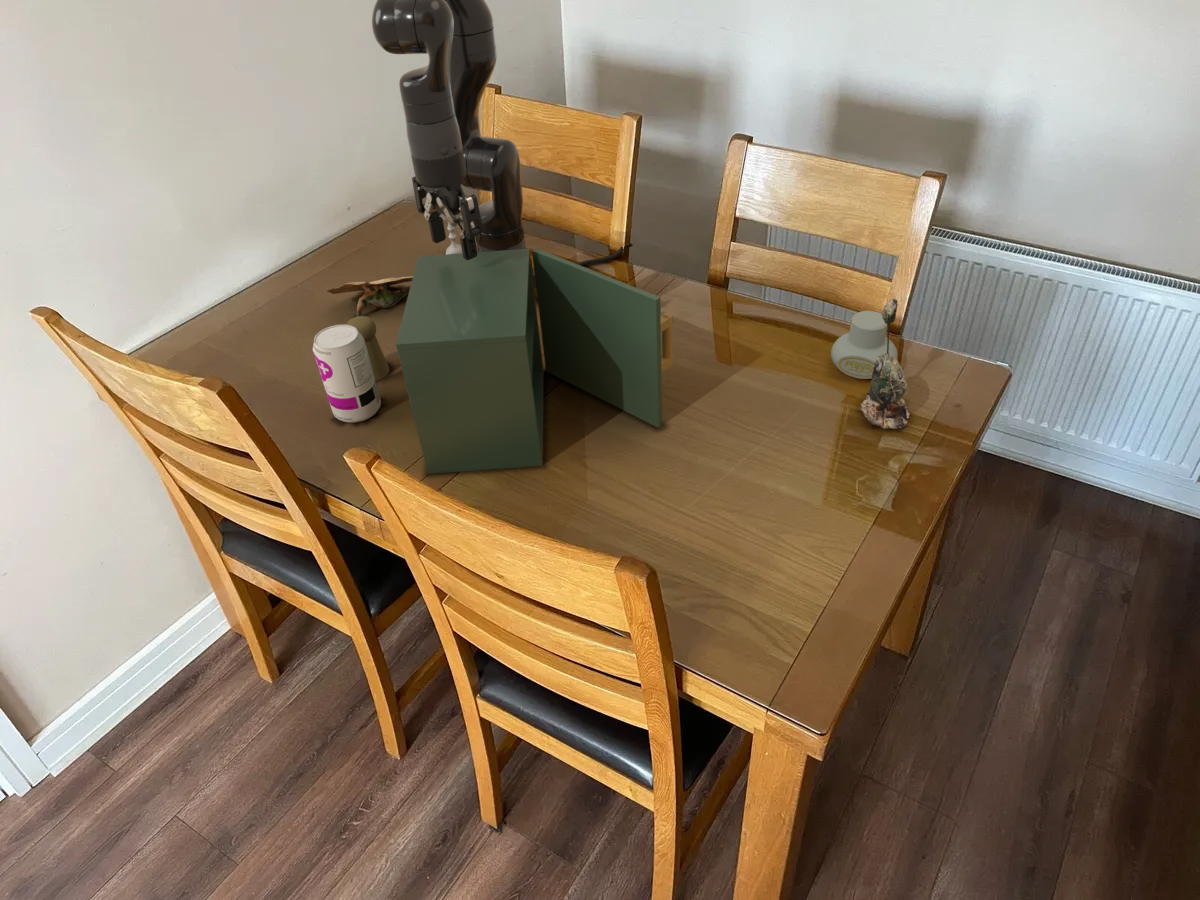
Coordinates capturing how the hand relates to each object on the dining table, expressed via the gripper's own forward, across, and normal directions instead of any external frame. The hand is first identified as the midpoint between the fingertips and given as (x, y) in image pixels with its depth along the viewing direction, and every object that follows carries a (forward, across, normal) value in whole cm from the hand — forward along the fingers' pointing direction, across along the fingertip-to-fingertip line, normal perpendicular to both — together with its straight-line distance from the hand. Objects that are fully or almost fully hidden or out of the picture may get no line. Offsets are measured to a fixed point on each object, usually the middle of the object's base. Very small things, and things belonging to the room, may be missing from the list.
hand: (454, 249), depth 136 cm
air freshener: (+27, -45, -49) cm, 72 cm away
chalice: (+27, +44, -26) cm, 57 cm away
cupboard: (+26, -9, +5) cm, 28 cm away
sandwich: (+27, +39, -3) cm, 47 cm away
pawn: (+27, +18, +11) cm, 34 cm away
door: (+26, -18, -15) cm, 35 cm away
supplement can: (+26, +10, +19) cm, 34 cm away
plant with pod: (+27, -55, -40) cm, 73 cm away
